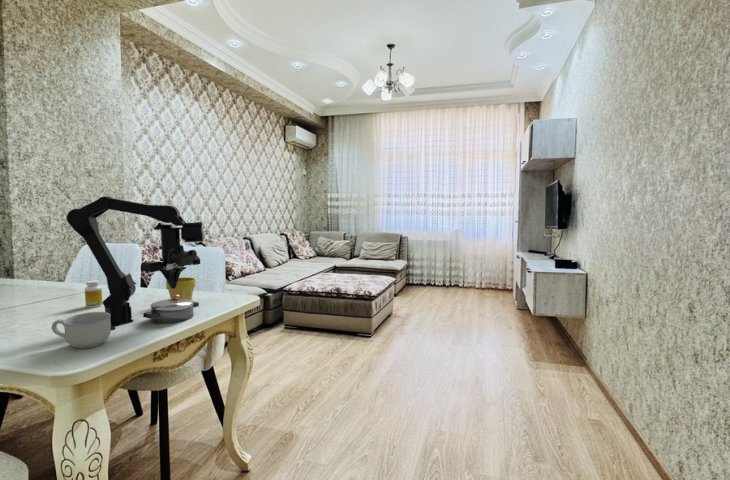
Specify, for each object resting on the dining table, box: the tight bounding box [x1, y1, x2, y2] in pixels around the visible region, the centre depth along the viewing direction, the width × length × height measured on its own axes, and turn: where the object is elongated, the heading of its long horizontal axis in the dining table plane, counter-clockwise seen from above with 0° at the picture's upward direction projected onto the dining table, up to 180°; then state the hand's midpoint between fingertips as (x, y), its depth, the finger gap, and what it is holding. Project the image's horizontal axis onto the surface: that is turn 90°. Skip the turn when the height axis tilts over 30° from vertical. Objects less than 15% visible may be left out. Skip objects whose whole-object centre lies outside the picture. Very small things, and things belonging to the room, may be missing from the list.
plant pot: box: [165, 276, 196, 300], centre depth 154 cm, size 10×10×10 cm
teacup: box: [51, 311, 112, 350], centre depth 109 cm, size 14×11×8 cm
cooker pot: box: [142, 300, 200, 325], centre depth 135 cm, size 18×13×4 cm
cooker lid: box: [150, 295, 194, 312], centre depth 135 cm, size 13×13×3 cm
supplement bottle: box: [84, 279, 104, 309], centre depth 151 cm, size 5×5×10 cm
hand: (173, 288), depth 134 cm, fingers closed
